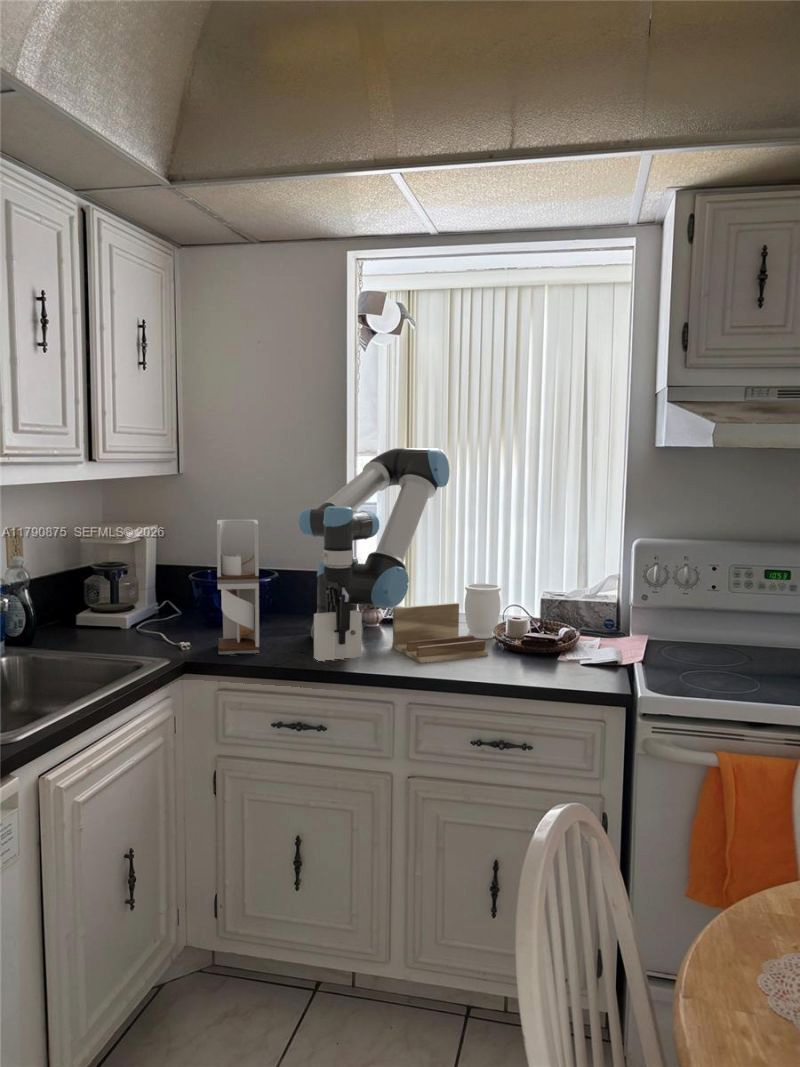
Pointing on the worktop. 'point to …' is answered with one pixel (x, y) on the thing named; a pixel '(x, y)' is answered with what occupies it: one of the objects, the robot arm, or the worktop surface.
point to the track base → (433, 633)
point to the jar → (482, 609)
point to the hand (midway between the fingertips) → (337, 653)
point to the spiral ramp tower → (238, 585)
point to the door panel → (326, 636)
